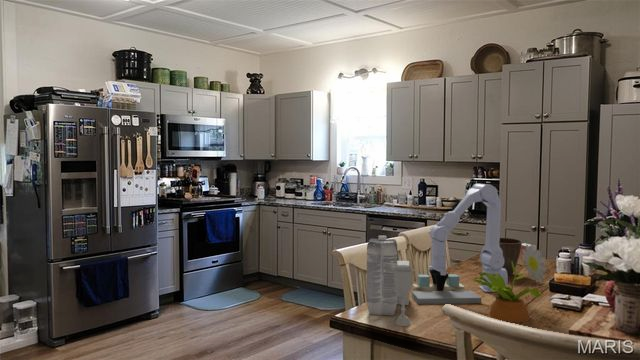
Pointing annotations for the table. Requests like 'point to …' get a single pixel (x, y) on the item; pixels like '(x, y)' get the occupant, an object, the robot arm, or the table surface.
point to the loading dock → (445, 297)
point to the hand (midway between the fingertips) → (438, 288)
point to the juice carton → (381, 276)
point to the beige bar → (434, 288)
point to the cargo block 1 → (423, 281)
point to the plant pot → (510, 253)
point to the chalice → (403, 290)
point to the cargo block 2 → (452, 280)
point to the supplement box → (399, 299)
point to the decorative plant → (507, 302)
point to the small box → (521, 256)
